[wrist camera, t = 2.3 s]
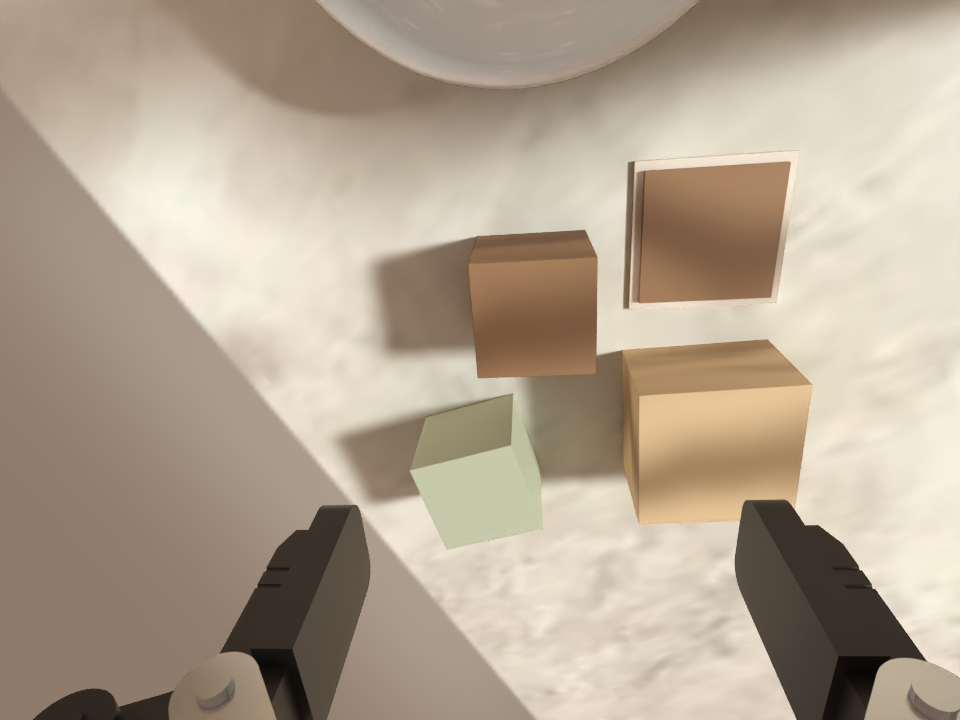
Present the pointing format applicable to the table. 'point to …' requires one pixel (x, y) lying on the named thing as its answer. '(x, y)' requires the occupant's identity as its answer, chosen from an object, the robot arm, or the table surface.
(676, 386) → the oak base block
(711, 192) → the walnut swatch
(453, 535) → the sage cube
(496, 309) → the walnut cube
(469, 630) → the table surface
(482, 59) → the cereal bowl
